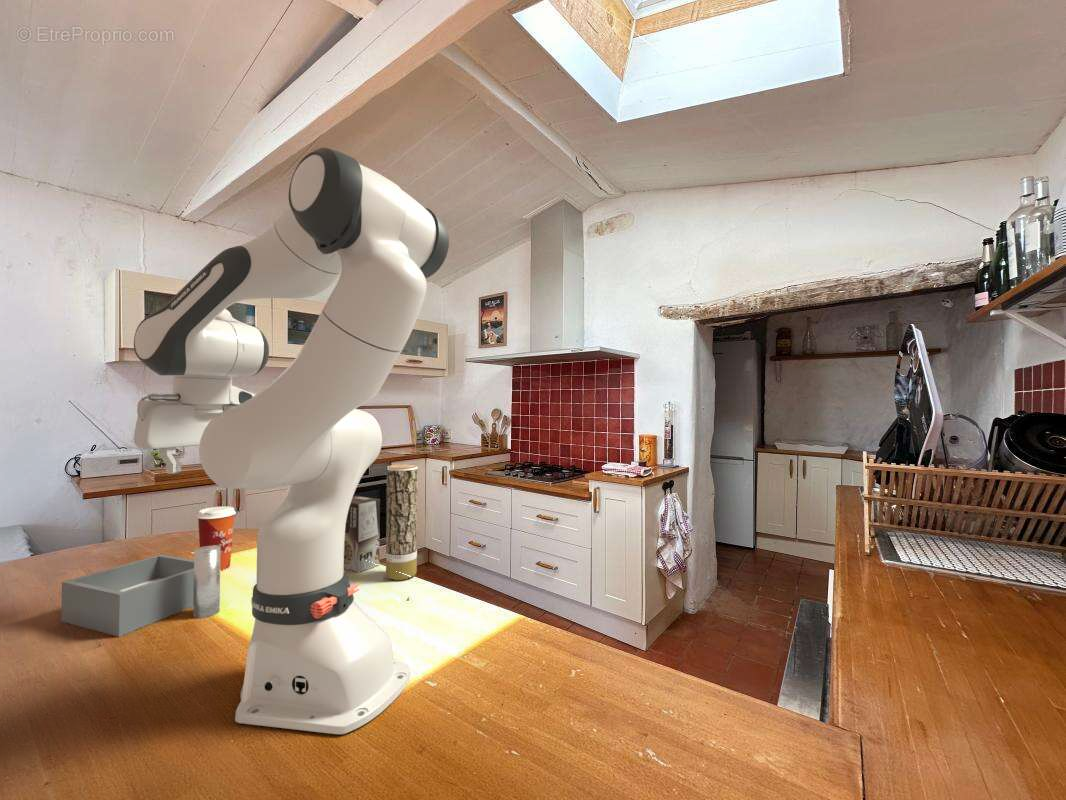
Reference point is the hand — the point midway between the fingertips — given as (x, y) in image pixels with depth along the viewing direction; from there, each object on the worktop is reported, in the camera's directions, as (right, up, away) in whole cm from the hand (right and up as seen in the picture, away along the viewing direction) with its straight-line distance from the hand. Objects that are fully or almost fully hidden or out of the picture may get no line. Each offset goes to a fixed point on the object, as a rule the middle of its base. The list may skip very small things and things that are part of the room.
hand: (201, 469), depth 83 cm
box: (-13, -27, +3) cm, 30 cm away
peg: (0, -27, +1) cm, 27 cm away
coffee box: (+19, -28, +27) cm, 42 cm away
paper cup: (-14, -27, +24) cm, 39 cm away
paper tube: (+31, -28, +20) cm, 46 cm away
